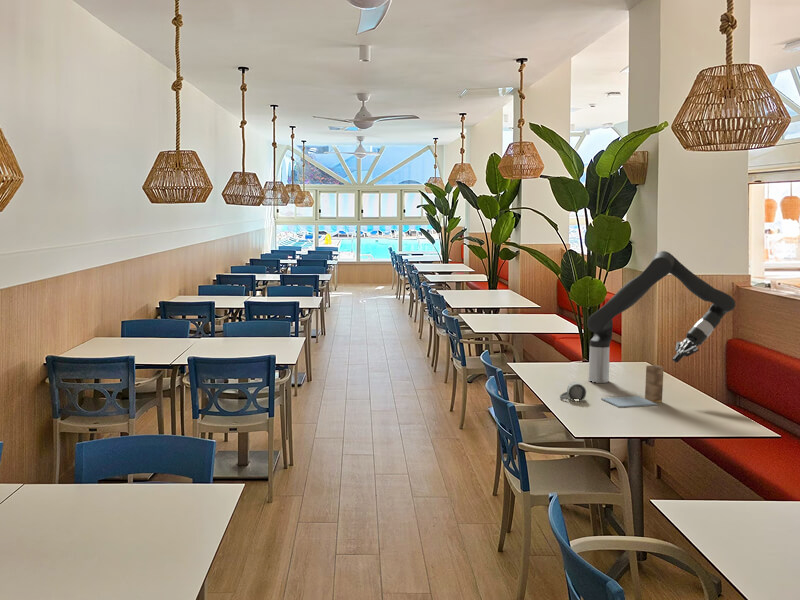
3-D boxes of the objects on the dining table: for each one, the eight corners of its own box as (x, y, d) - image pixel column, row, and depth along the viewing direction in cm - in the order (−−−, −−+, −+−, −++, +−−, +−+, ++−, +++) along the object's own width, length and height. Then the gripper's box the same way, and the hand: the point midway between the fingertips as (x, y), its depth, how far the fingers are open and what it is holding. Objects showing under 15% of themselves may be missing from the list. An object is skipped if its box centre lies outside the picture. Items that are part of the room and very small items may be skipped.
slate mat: (637, 397, 316) (637, 395, 316) (657, 405, 302) (657, 403, 302) (601, 399, 311) (601, 398, 311) (619, 407, 298) (619, 406, 298)
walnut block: (654, 399, 313) (656, 365, 311) (661, 401, 308) (663, 367, 307) (644, 399, 312) (646, 365, 310) (651, 402, 307) (653, 367, 305)
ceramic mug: (583, 397, 315) (583, 380, 314) (586, 402, 307) (586, 384, 306) (558, 397, 316) (558, 380, 315) (560, 401, 308) (561, 384, 307)
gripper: (685, 324, 318) (659, 352, 316) (705, 328, 305) (679, 358, 303) (695, 335, 320) (669, 364, 318) (715, 340, 307) (689, 369, 305)
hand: (674, 361), depth 311 cm, fingers closed
